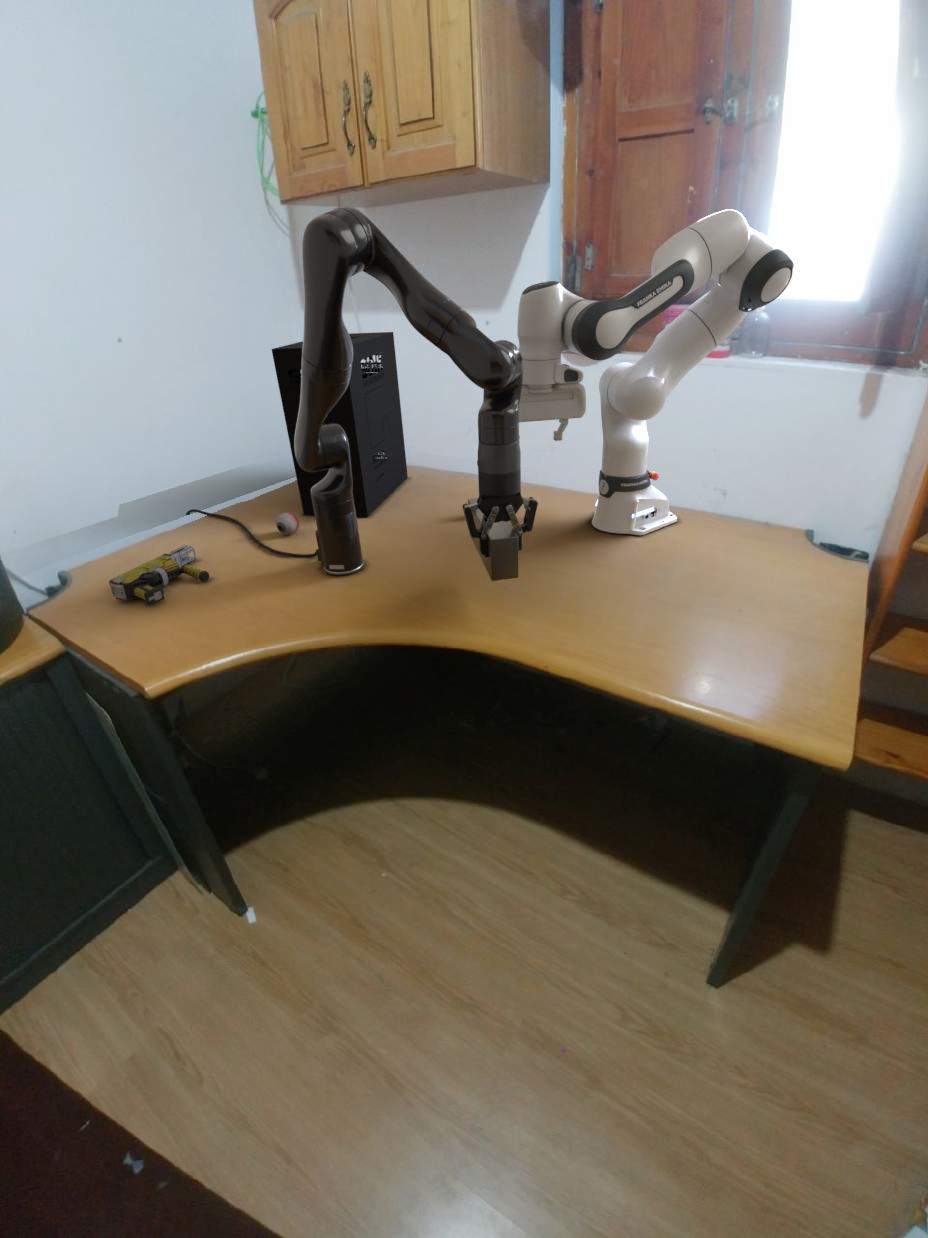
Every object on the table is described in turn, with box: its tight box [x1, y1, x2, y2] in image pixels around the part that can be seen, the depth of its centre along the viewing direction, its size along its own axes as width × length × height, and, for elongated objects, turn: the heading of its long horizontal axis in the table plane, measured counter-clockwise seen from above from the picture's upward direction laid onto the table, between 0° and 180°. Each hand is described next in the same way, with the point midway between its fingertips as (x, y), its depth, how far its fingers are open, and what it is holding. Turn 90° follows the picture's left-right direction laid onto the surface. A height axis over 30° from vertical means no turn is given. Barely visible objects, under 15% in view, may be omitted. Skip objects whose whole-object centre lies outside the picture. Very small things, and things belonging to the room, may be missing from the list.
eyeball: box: [275, 511, 300, 536], centre depth 163 cm, size 6×6×6 cm
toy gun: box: [108, 544, 210, 607], centre depth 141 cm, size 5×24×15 cm
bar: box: [467, 497, 520, 582], centre depth 122 cm, size 24×5×8 cm, turn 10°
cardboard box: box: [271, 331, 409, 518], centre depth 180 cm, size 38×20×45 cm, turn 167°
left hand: (501, 553), depth 115 cm, fingers closed on bar, 5 cm apart
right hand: (536, 441), depth 130 cm, fingers open, 8 cm apart
